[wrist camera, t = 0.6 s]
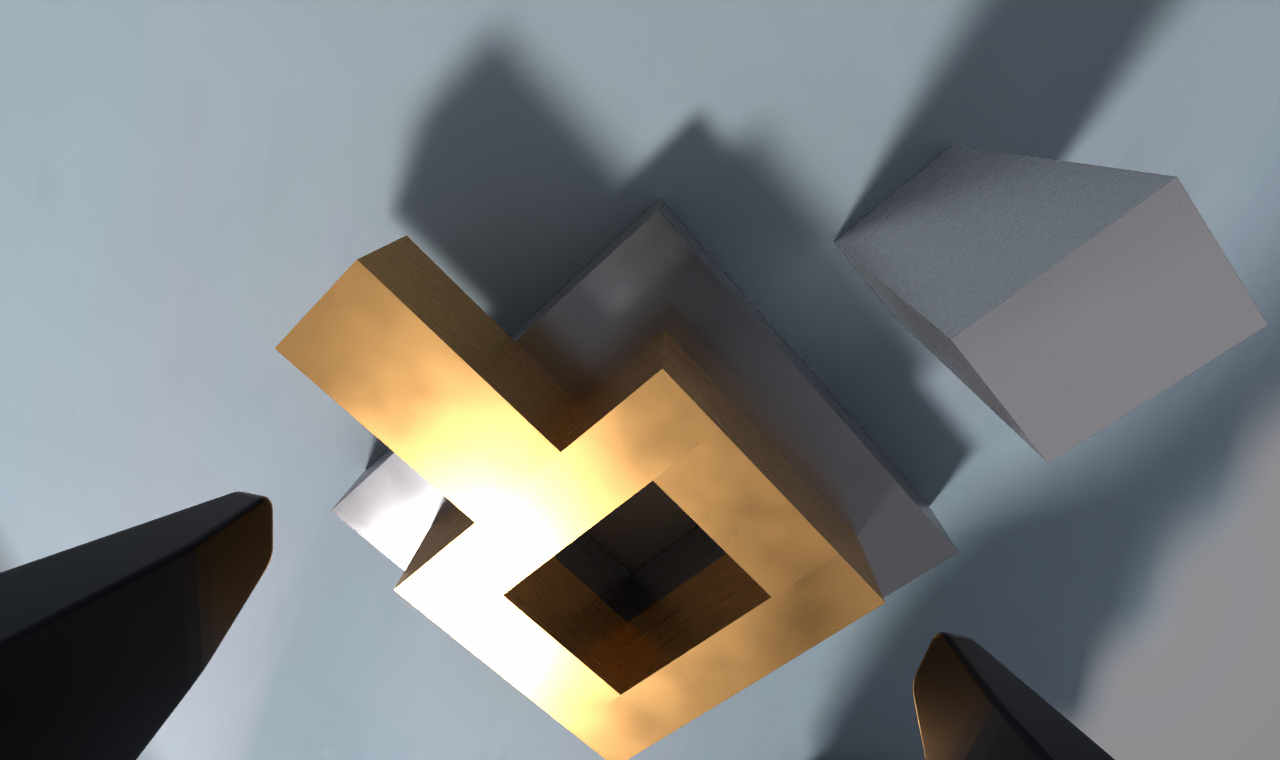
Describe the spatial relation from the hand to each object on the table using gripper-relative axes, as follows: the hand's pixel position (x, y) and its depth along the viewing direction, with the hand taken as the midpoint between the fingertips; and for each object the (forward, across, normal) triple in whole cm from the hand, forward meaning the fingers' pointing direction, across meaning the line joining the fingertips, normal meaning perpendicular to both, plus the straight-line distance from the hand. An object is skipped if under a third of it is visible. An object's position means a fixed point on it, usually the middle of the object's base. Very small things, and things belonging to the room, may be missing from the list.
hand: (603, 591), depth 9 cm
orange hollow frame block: (+13, 0, +5) cm, 14 cm away
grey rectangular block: (+13, -8, -4) cm, 16 cm away
